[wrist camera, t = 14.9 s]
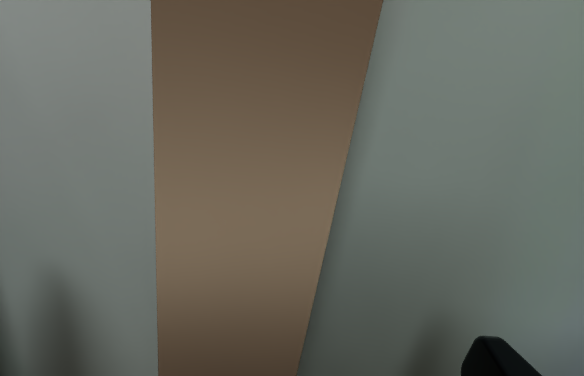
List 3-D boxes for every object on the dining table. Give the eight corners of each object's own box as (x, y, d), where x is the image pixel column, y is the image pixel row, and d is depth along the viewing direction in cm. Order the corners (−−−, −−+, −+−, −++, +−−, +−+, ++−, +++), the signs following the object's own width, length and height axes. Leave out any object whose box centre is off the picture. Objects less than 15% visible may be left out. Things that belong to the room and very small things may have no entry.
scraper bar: (248, 431, 15) (246, 590, 12) (183, 430, 15) (162, 592, 12) (356, -237, 7) (458, -322, 3) (202, -266, 6) (142, -390, 3)
